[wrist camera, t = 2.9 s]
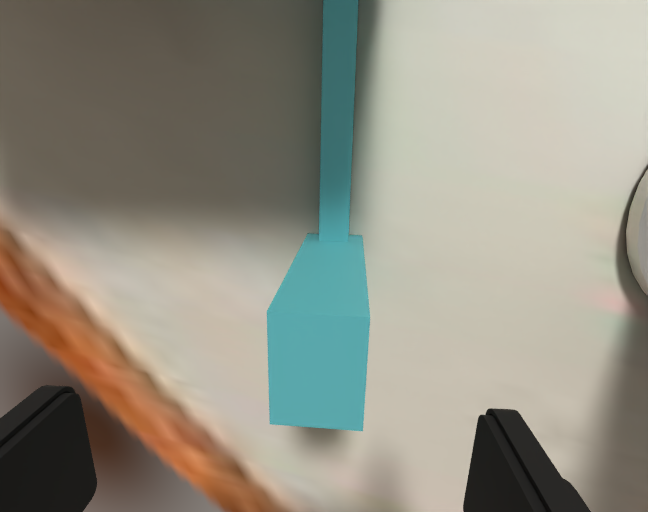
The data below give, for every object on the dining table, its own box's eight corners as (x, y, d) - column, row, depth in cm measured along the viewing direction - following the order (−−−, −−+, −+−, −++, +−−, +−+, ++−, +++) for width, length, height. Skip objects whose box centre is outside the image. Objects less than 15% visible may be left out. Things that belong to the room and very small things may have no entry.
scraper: (455, 307, 21) (541, 444, 11) (215, 295, 22) (107, 411, 12) (511, -97, 15) (767, -492, 6) (188, -89, 16) (-43, -419, 7)
